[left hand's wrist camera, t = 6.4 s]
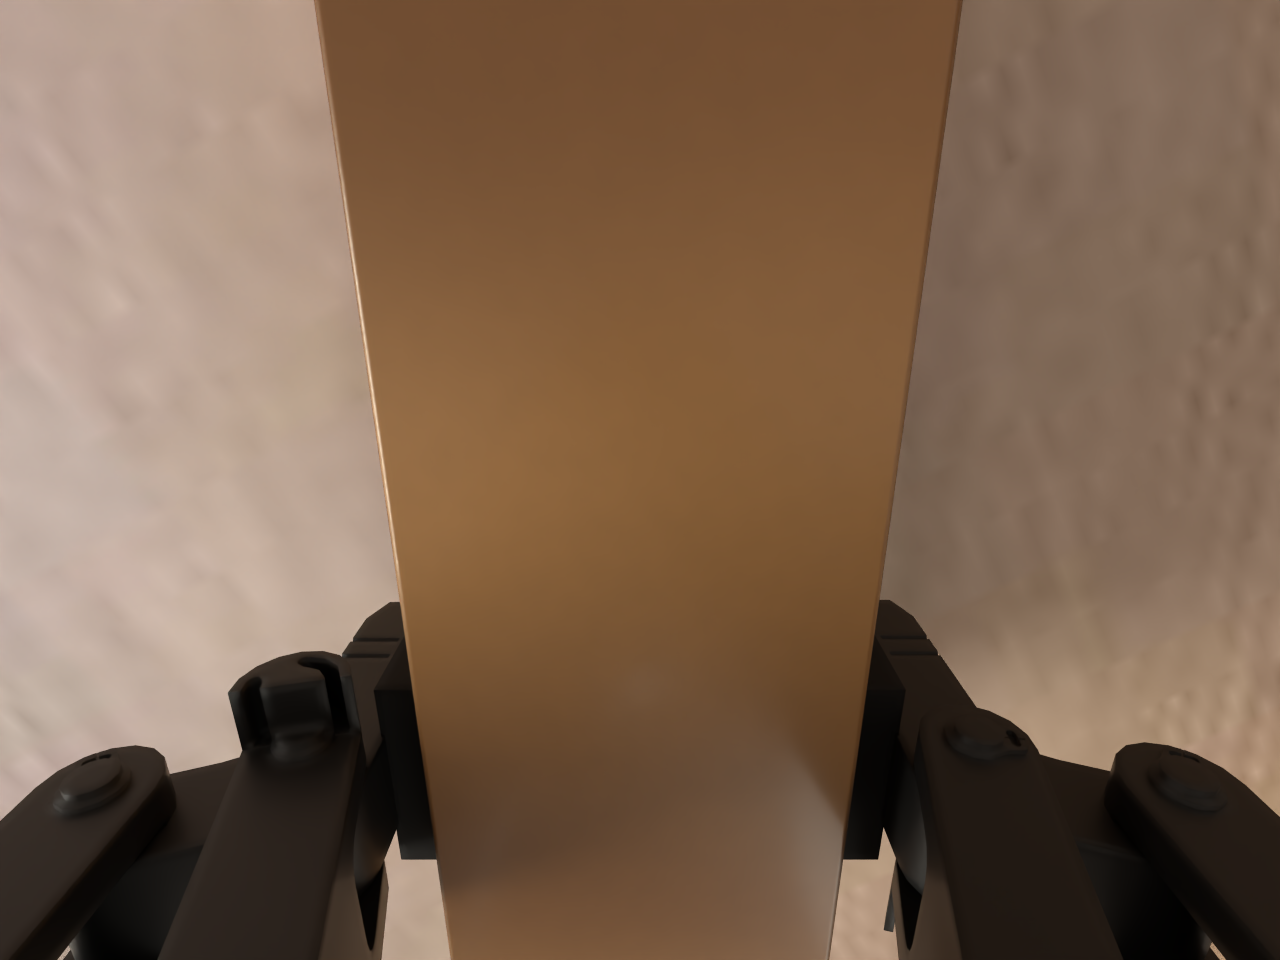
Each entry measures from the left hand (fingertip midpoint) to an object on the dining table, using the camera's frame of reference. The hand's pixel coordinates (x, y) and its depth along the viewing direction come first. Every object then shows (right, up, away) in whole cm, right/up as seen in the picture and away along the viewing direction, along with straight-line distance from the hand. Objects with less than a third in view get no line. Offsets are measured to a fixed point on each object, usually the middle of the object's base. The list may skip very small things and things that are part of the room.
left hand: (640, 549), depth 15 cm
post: (0, +24, -9) cm, 26 cm away
